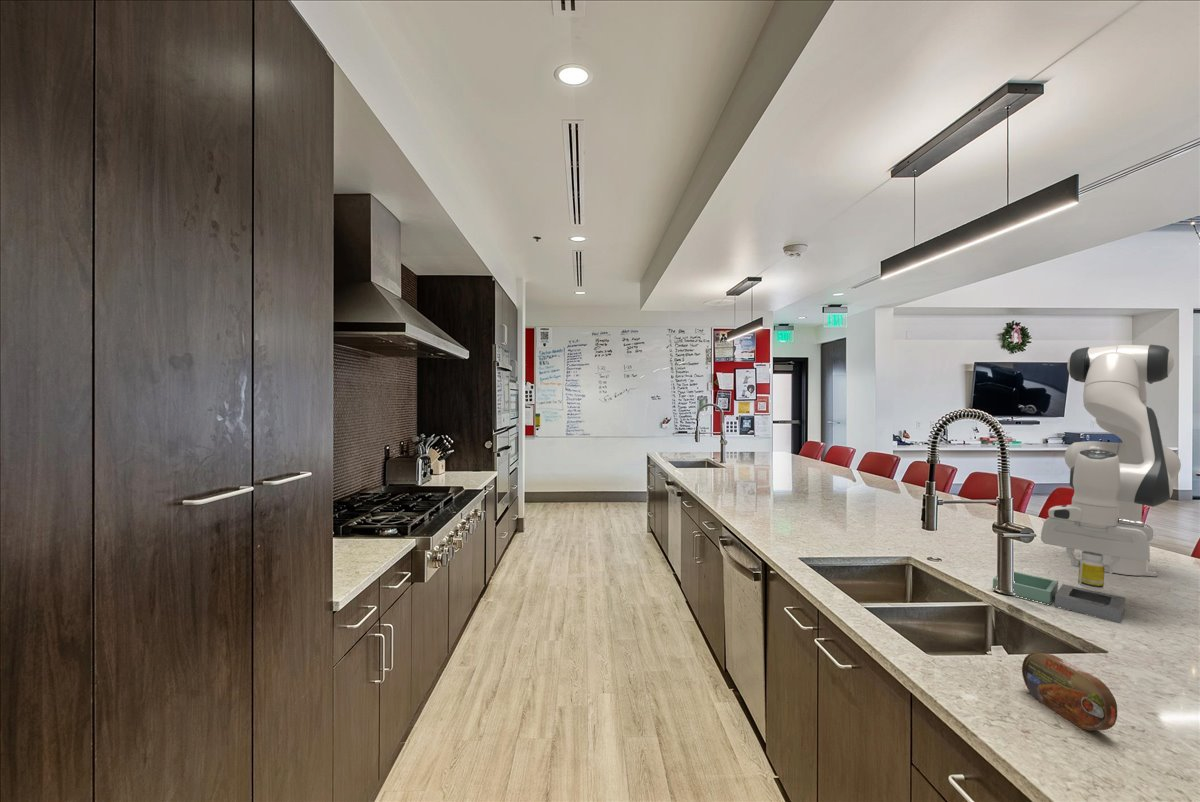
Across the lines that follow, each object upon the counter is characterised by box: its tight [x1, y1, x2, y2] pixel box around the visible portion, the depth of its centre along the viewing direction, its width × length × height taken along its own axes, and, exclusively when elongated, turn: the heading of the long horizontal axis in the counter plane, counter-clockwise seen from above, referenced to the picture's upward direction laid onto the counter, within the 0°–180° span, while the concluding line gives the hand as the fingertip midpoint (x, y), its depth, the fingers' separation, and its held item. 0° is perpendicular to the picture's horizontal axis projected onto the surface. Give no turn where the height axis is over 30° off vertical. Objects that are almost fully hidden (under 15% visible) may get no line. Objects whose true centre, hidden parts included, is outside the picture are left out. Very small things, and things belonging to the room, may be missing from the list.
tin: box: [1021, 652, 1118, 732], centre depth 92 cm, size 15×3×8 cm, turn 5°
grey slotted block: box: [1054, 583, 1126, 624], centre depth 137 cm, size 12×12×3 cm
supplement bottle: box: [1077, 551, 1105, 590], centre depth 136 cm, size 5×5×8 cm
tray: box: [992, 571, 1059, 606], centre depth 146 cm, size 12×12×4 cm
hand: (1091, 569), depth 136 cm, fingers closed on supplement bottle, 5 cm apart
